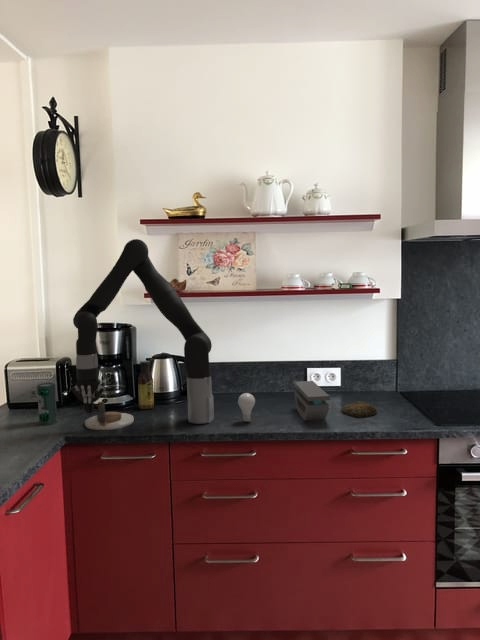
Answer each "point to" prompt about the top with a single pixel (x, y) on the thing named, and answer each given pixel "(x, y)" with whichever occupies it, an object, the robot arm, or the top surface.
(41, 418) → the green patterned block
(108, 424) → the dial base
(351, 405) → the bread roll
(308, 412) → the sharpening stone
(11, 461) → the top surface
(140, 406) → the sauce bottle
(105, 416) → the brown disc with handle
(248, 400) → the lightbulb
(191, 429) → the top surface
